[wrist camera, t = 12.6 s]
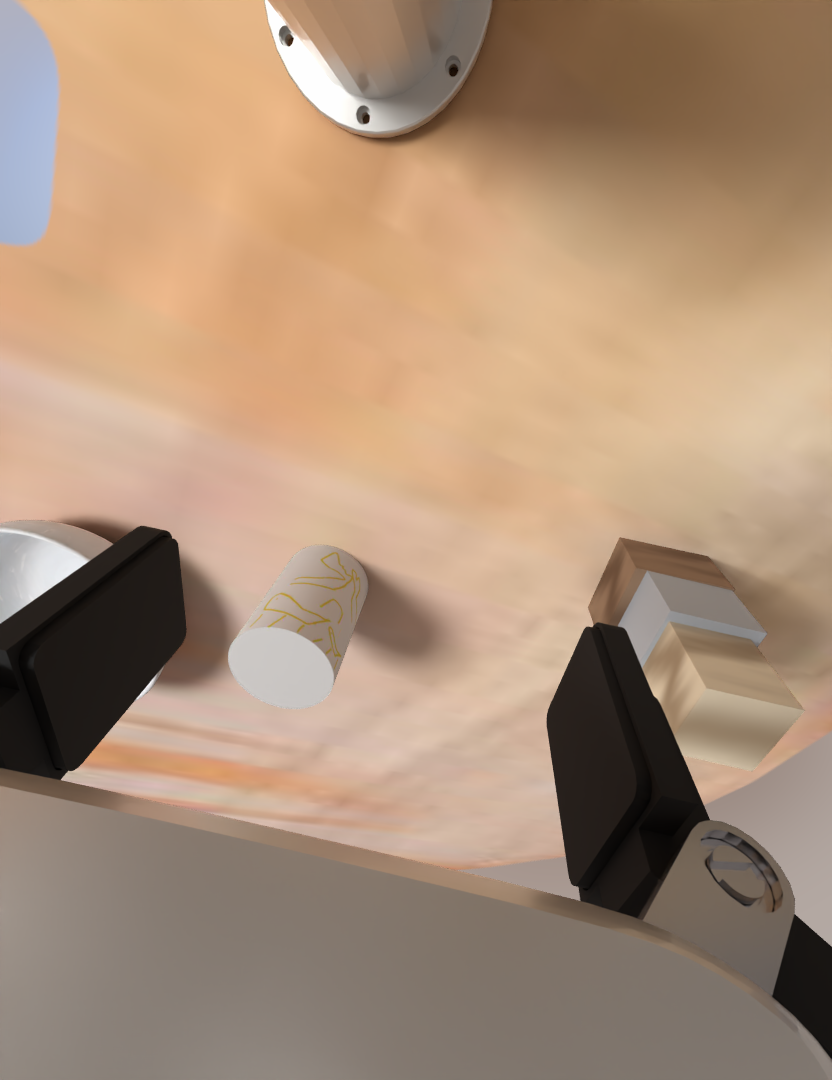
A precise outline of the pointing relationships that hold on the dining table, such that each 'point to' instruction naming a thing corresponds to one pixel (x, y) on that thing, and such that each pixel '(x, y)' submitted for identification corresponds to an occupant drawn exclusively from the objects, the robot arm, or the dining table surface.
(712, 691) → the maple cube
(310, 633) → the cup
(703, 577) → the walnut block
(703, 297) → the dining table surface
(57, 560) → the serving bowl
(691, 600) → the grey block
